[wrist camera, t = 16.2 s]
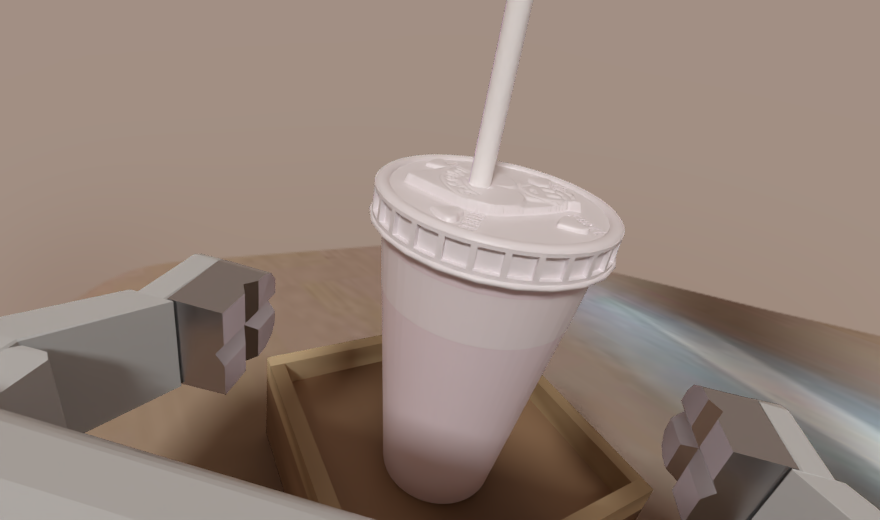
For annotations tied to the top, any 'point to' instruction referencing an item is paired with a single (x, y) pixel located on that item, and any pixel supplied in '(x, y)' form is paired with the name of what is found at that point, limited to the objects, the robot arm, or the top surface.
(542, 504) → the wooden tray
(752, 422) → the robot arm
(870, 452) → the top surface
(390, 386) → the smoothie
